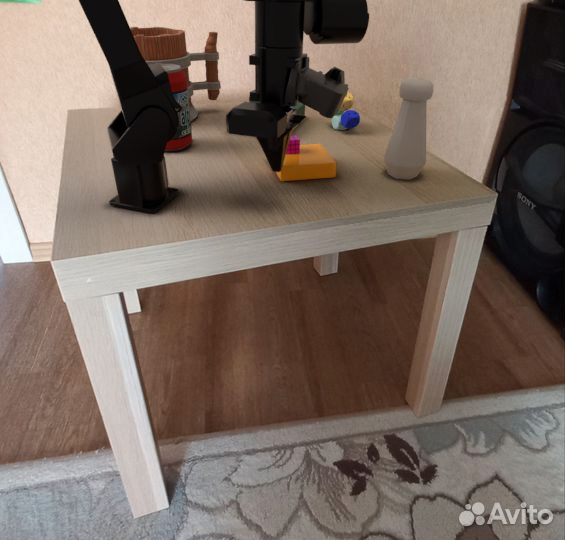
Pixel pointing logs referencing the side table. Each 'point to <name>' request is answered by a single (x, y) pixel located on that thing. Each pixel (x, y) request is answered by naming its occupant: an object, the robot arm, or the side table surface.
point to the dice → (346, 115)
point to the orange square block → (306, 162)
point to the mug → (180, 57)
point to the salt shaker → (409, 130)
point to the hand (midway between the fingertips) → (276, 171)
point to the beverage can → (181, 95)
